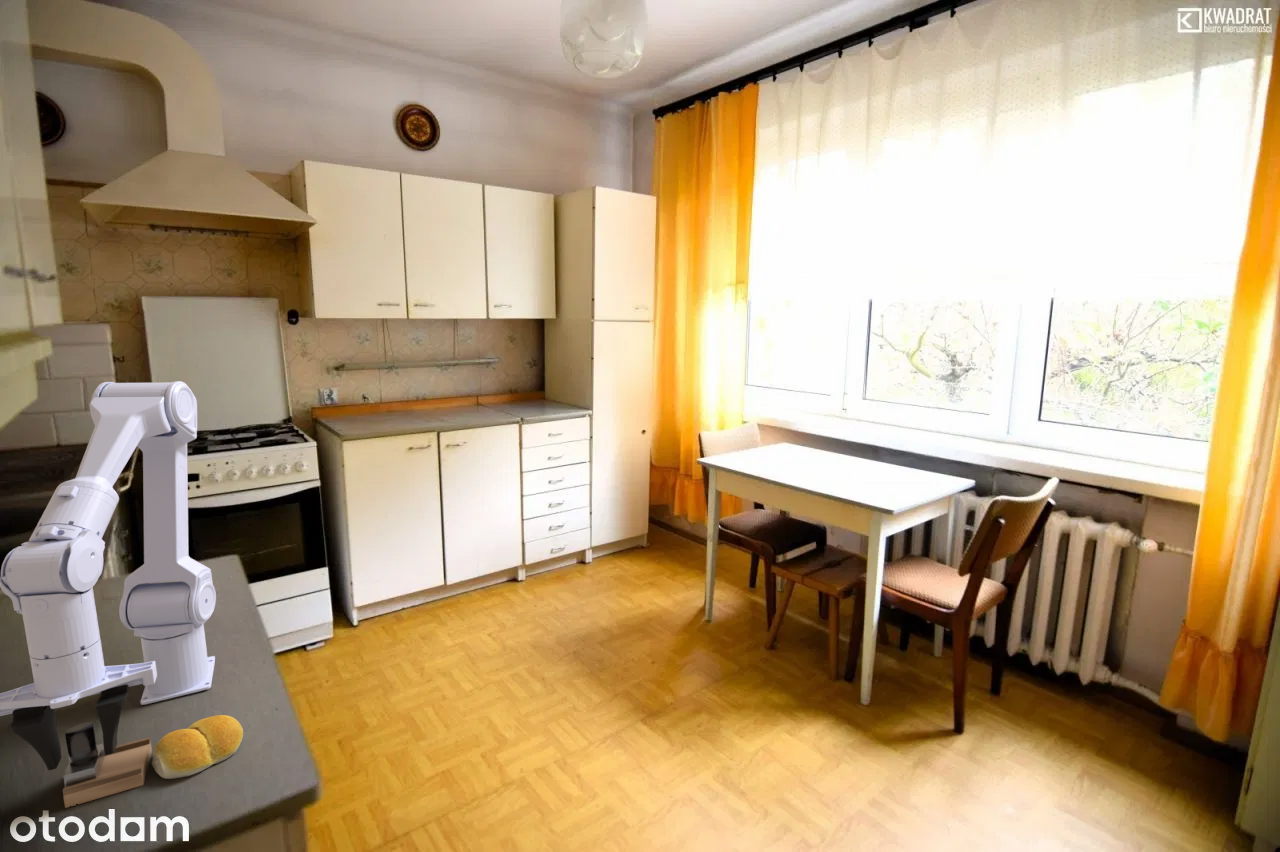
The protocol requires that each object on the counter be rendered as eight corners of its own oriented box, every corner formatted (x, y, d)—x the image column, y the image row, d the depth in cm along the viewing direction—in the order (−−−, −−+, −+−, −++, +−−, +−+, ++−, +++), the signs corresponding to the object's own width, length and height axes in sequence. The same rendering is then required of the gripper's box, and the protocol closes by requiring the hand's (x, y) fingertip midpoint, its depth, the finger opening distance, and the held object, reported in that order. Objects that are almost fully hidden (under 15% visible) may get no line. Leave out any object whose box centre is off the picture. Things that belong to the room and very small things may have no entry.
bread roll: (255, 748, 77) (252, 719, 77) (169, 791, 70) (165, 760, 69) (227, 722, 82) (223, 695, 81) (144, 760, 75) (140, 731, 74)
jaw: (76, 762, 72) (69, 721, 71) (105, 754, 73) (99, 714, 72) (65, 788, 68) (58, 745, 67) (96, 779, 69) (89, 737, 68)
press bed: (80, 771, 73) (77, 755, 72) (152, 751, 76) (149, 736, 76) (65, 808, 67) (62, 790, 67) (143, 785, 71) (140, 768, 70)
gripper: (-44, 683, 61) (-20, 804, 63) (143, 645, 68) (158, 755, 70) (-16, 650, 67) (5, 762, 69) (153, 618, 74) (167, 721, 76)
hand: (83, 756), depth 70 cm, fingers open, 4 cm apart
